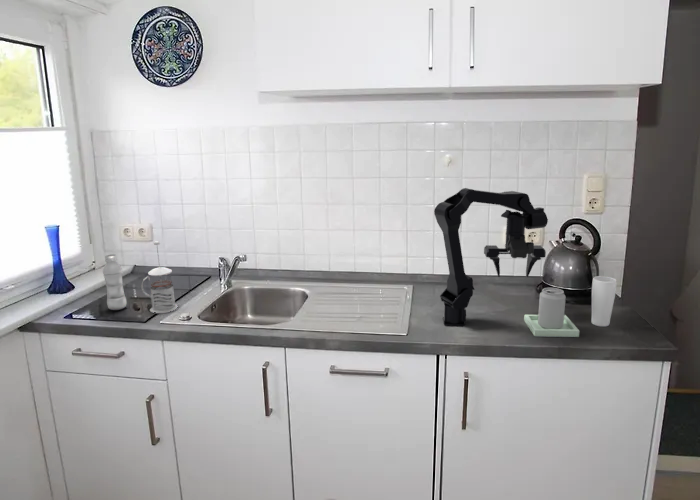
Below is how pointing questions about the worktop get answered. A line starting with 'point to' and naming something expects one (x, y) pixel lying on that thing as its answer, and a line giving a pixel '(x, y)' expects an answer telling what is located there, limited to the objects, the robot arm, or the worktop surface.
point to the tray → (537, 330)
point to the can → (551, 308)
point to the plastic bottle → (114, 283)
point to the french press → (161, 290)
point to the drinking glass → (602, 300)
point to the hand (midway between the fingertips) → (512, 276)
